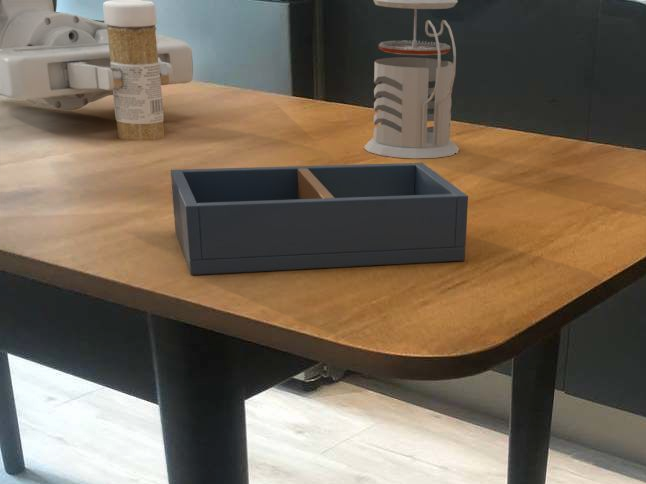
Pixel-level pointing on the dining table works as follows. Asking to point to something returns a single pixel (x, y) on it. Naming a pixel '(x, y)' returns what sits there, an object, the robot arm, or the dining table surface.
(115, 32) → the spice jar
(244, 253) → the blue-grey divided tray
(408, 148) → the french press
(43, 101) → the robot arm
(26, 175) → the dining table surface
